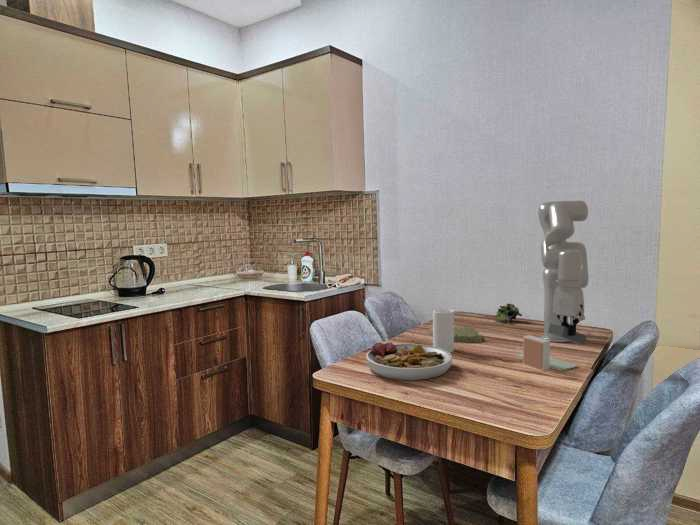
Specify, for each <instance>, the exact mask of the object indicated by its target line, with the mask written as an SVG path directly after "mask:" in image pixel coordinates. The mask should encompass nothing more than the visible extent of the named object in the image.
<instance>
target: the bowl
mask: <svg viewBox="0 0 700 525" xmlns="http://www.w3.org/2000/svg"><path fill="white" fill-rule="evenodd" d="M365 357H366V363H367V366H368V367H369V368H370V370H372V372H374V373H376V374H378V375H379V376H381V377H382V376H383V377H384V378H388V379H394V380H399V379H400V380H401V381H421V380H422V379H423V380H428V379H429V378H430V379H433V378H437V377H439V376H442V375H443V374H445V373H446V372H447V371H448V370H450V368H451V366H452V362H453V356H452V354H451V352H450V353H449V352H447V351H445V350H443V349H441V348H437V347H433V345H427V344H420V343H396V344H395V343H393V342H389V341H387V342H385V343H383V342H376V343H375V344H372V347H371V349H370V350H368V351H367V353H366V355H365ZM423 380H422V381H423Z"/></svg>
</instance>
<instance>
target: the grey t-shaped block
mask: <svg viewBox="0 0 700 525" xmlns="http://www.w3.org/2000/svg"><path fill="white" fill-rule="evenodd" d="M548 333H550V334H554V335H557V336H559V337H562V338H565V339H567V340H570V341H569V342H573V343H575V344H578V345H582V346H585V345H586V341H587V335H586V334H585V335H584V334H582V333H580V332H577V331H576V335H573V336H569V335H568V333H569V329H568V328H567V327H565V326H560V325H555V324H550V327H549V330H548Z"/></svg>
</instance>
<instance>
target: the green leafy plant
mask: <svg viewBox="0 0 700 525" xmlns="http://www.w3.org/2000/svg"><path fill="white" fill-rule="evenodd" d="M517 316H519V317H522V316H523V314H522V313H520V308H518V306H517V307H516V306H515V305H514V304H513V303H506V305H504V304H503V305H499V307H498V308H497V312H496V314H495V316H494V318H493V319H494V320H495V321H497V320H499V319H500V318H503V319H504V320H505V321H507V323H509V322H510V321H512V320H517Z"/></svg>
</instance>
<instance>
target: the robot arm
mask: <svg viewBox="0 0 700 525" xmlns="http://www.w3.org/2000/svg"><path fill="white" fill-rule="evenodd" d="M537 213H538V219H539V220H538V221H539V224H540V226H541V229H542V230H543V231H542V232H543V234H544V237H543V239H542V241H541V244H540V255H541V256H540V257H541V258H540V259H541V263H542V264H541V265H542V266H543V267H544V270H543V271H542V280H543V290H544V291H543V292H544V308H543V310H544V312H543V315H544V316H543V333H540V334H539V338H542V339H545V340H549V341H550V343H551V342H552V343H569V342H571V341H570V340H567V339H565V338H562V337H559V336H557V335H554V334H550V333H548V330H549V327H550V324H555V325H560V326H565V327H567V328H568V329H569V333H568V335H569V336H573V335H576V332H577V326H578V324H579V322H581V321H585V320H586V317H585V316H586V315H585V298H584V291H583V289H584V288H586V287H588V284H589V279H590V278H589V266H588V265H589V264H588V253H587V248H586V246H585V244H583V243H582V242H579V241H577V242H575V241H567V239H570V238H571V237H572V236H574V234H575V225H574V222H584V221H586V220H587V219H588V216H589V207H588V205H587V203H586V202H585V201H584V200H560V201H547V202H544V203H541V204H540V205H539V207H538V212H537Z"/></svg>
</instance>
